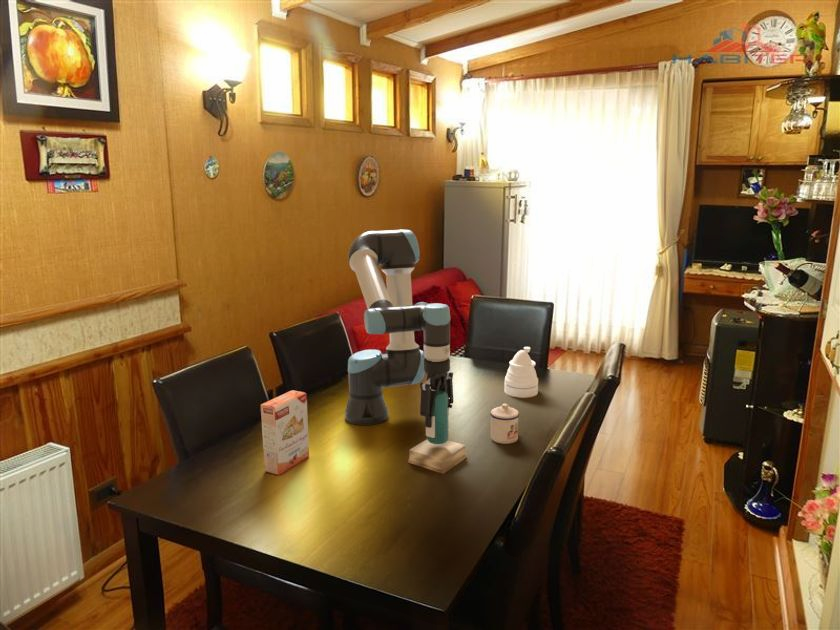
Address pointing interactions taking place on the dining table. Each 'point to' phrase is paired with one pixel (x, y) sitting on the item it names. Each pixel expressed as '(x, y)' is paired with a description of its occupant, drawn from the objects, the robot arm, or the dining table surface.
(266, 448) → the cracker box
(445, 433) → the beverage bottle
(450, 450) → the tan flat square block
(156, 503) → the dining table surface
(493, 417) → the teacup with lid
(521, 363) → the honey pot
